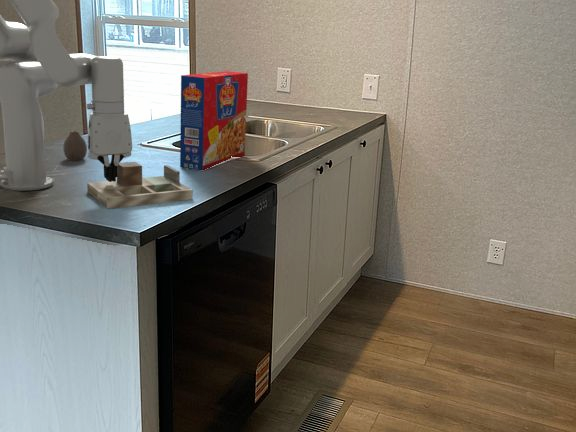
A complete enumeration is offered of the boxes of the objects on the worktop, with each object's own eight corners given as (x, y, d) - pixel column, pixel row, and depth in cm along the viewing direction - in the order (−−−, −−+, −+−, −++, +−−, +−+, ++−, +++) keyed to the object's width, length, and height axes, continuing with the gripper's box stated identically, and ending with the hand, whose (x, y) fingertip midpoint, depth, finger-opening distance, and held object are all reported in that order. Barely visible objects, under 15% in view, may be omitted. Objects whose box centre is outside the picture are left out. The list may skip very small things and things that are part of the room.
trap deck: (108, 208, 151) (107, 186, 149) (87, 192, 163) (86, 171, 161) (192, 199, 163) (192, 178, 161) (167, 184, 175) (167, 165, 173)
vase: (59, 160, 195) (57, 132, 193) (73, 156, 201) (72, 129, 199) (77, 163, 193) (76, 134, 190) (91, 159, 199) (90, 131, 197)
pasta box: (202, 171, 193) (204, 77, 185) (180, 167, 196) (181, 75, 187) (244, 156, 218) (247, 73, 209) (224, 153, 220) (226, 71, 212)
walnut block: (123, 186, 161) (123, 167, 160) (116, 181, 165) (116, 162, 164) (142, 184, 164) (142, 165, 162) (135, 180, 168) (135, 161, 166)
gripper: (82, 111, 149) (85, 186, 154) (143, 109, 157) (144, 181, 162) (73, 106, 155) (76, 179, 160) (132, 105, 163) (134, 174, 168)
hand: (110, 180), depth 161 cm, fingers closed
